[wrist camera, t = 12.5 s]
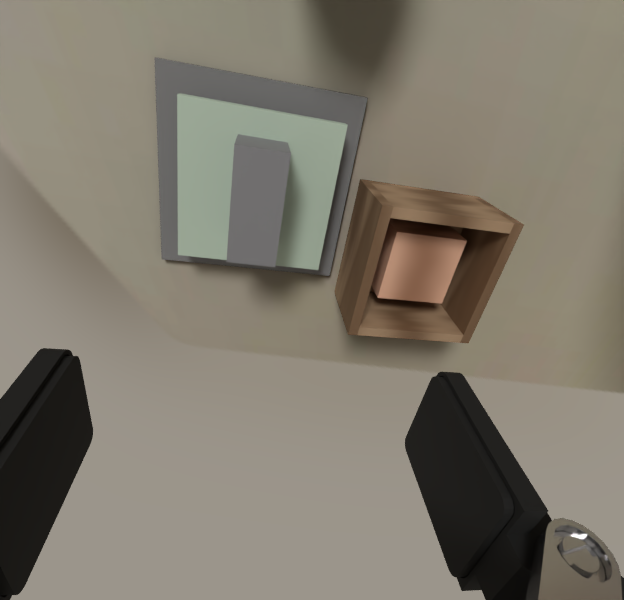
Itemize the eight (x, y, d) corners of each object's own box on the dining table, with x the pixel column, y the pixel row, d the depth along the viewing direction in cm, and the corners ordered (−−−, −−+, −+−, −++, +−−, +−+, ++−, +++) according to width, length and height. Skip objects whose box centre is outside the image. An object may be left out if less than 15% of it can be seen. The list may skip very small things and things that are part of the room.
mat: (365, 97, 29) (367, 97, 28) (328, 272, 36) (329, 275, 36) (156, 57, 26) (154, 57, 26) (163, 256, 34) (161, 259, 33)
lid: (342, 121, 29) (359, 133, 24) (315, 259, 35) (324, 293, 30) (183, 92, 27) (163, 98, 22) (182, 244, 33) (167, 278, 27)
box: (478, 196, 34) (523, 224, 28) (437, 301, 40) (468, 343, 34) (360, 179, 32) (382, 205, 26) (334, 291, 38) (348, 334, 32)
